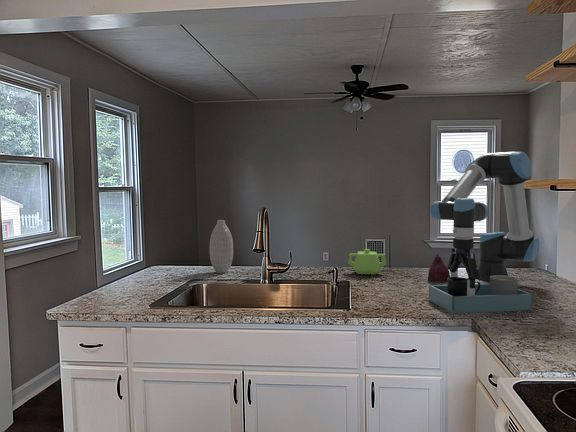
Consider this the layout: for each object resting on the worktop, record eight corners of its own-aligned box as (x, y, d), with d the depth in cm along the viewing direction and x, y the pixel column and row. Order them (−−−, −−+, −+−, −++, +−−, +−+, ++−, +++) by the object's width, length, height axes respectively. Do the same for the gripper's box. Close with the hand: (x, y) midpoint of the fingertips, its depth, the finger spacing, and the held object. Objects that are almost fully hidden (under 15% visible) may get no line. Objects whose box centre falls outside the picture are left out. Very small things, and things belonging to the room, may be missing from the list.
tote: (502, 297, 198) (502, 283, 198) (532, 310, 178) (533, 294, 178) (429, 300, 194) (429, 285, 194) (451, 313, 174) (452, 297, 174)
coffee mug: (520, 306, 179) (521, 280, 179) (493, 306, 181) (494, 280, 180) (509, 298, 193) (509, 273, 192) (483, 297, 194) (484, 273, 193)
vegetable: (442, 290, 226) (442, 261, 221) (423, 283, 234) (423, 256, 229) (454, 281, 232) (454, 253, 227) (435, 276, 240) (435, 248, 235)
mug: (479, 307, 179) (480, 282, 178) (446, 304, 183) (446, 280, 182) (479, 302, 186) (480, 278, 185) (447, 299, 191) (448, 276, 190)
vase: (236, 270, 260) (236, 219, 258) (228, 275, 248) (228, 221, 246) (215, 269, 263) (214, 219, 261) (206, 274, 251) (205, 221, 249)
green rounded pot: (348, 269, 264) (348, 246, 263) (384, 270, 261) (385, 246, 260) (347, 275, 246) (347, 250, 245) (387, 276, 243) (387, 251, 242)
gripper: (439, 234, 195) (438, 285, 197) (470, 242, 171) (469, 300, 172) (457, 234, 196) (455, 285, 198) (490, 241, 172) (488, 299, 173)
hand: (462, 292), depth 185 cm, fingers open, 13 cm apart
